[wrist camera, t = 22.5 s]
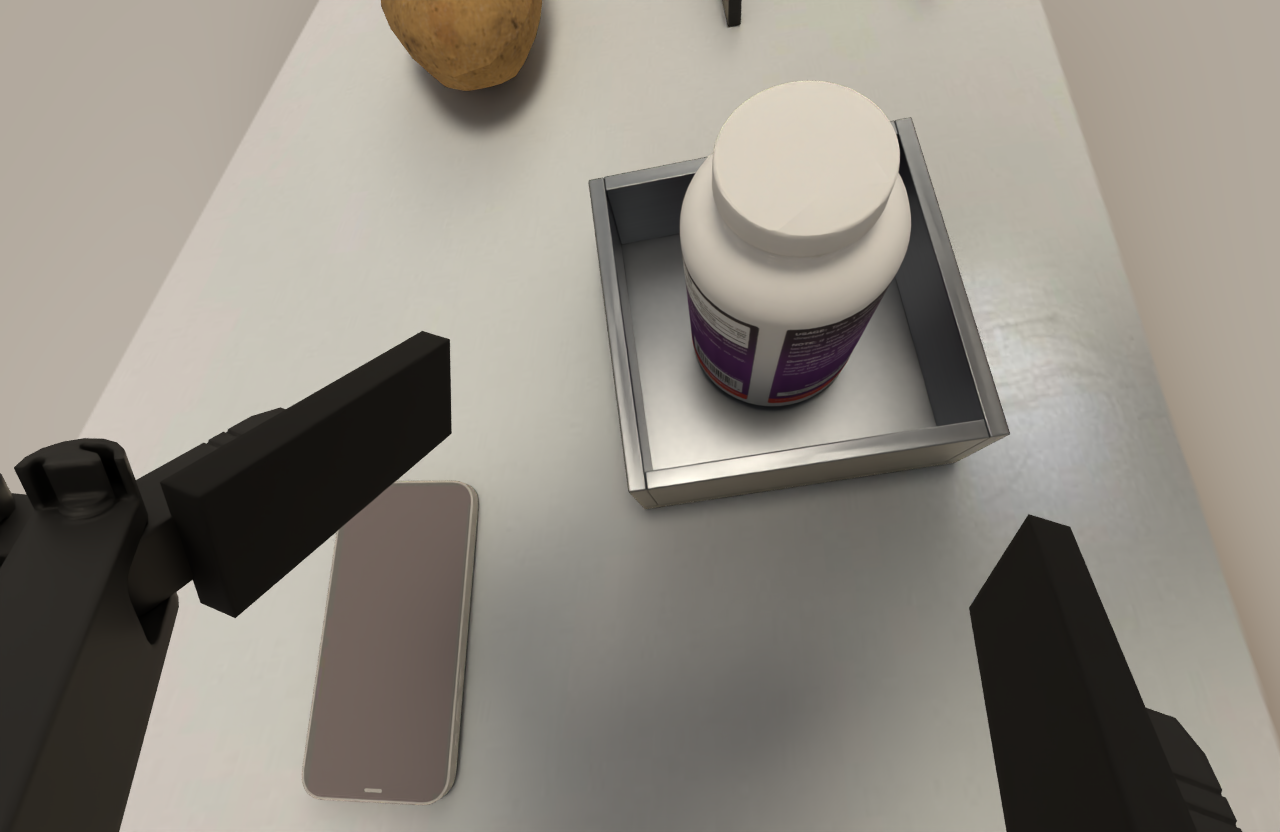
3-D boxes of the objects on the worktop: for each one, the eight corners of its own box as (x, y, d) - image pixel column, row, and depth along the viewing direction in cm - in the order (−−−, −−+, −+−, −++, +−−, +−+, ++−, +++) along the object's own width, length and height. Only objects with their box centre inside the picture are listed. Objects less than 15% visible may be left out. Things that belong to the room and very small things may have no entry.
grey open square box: (879, 194, 35) (911, 116, 29) (955, 463, 30) (1010, 434, 25) (608, 244, 36) (587, 179, 30) (644, 509, 32) (628, 493, 26)
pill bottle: (857, 278, 33) (960, 52, 19) (839, 423, 31) (939, 291, 17) (704, 260, 34) (696, 37, 20) (678, 399, 32) (650, 257, 18)
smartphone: (476, 480, 32) (448, 806, 28) (482, 483, 33) (456, 800, 29) (343, 481, 33) (297, 798, 29) (352, 484, 34) (309, 792, 30)
